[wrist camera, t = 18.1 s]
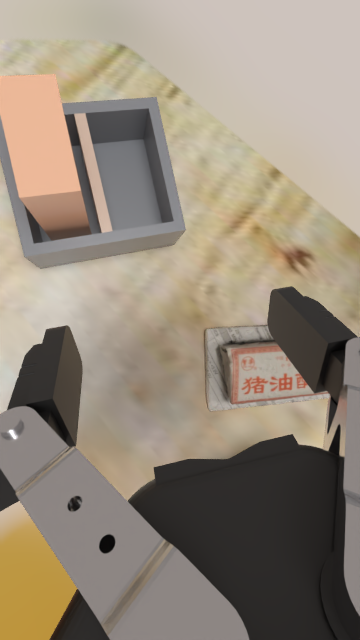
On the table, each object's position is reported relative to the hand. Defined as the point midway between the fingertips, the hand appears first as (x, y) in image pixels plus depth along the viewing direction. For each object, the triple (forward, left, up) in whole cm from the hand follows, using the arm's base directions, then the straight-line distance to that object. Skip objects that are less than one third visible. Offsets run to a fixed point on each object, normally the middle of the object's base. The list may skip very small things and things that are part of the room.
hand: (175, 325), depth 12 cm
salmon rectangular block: (+4, -14, -22) cm, 27 cm away
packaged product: (-16, +9, -24) cm, 30 cm away
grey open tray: (+1, -14, -23) cm, 27 cm away
